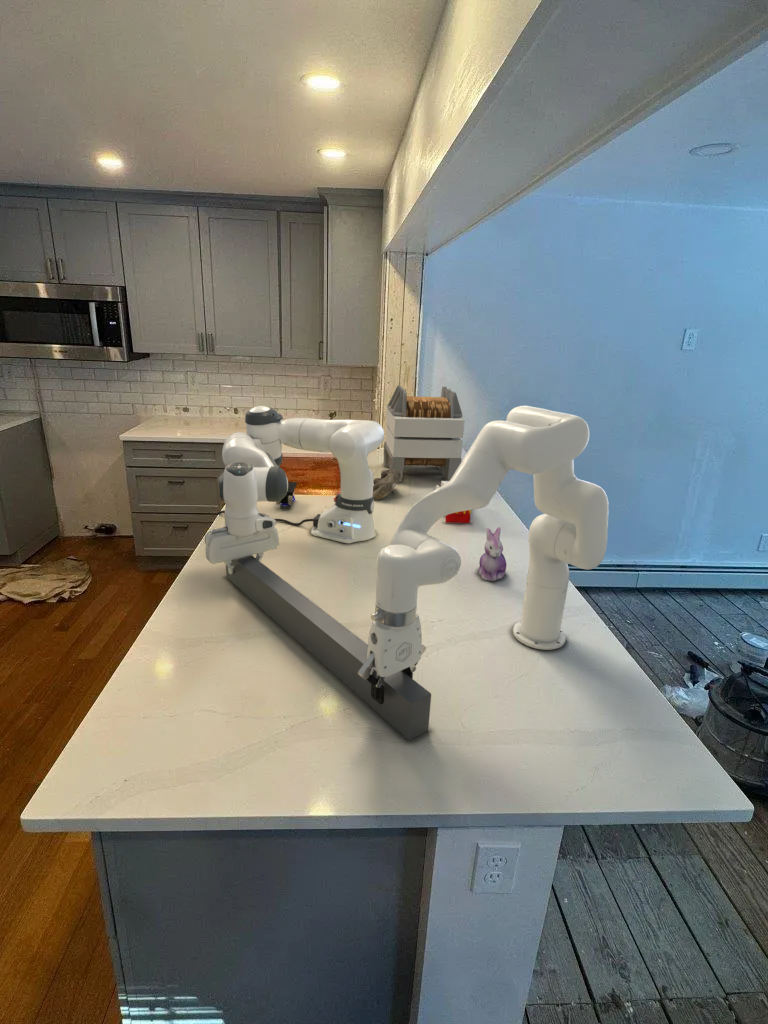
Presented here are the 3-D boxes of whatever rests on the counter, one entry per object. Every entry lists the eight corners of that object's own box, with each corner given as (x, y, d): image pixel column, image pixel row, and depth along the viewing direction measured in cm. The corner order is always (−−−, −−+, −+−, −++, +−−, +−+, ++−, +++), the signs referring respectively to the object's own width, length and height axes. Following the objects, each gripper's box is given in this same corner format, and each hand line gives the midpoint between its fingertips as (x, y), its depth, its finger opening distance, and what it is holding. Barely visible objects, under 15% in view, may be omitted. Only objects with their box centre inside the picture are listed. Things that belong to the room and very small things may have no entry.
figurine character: (293, 513, 218) (297, 497, 231) (292, 495, 215) (297, 480, 228) (275, 513, 218) (281, 496, 231) (274, 495, 214) (280, 479, 228)
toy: (463, 477, 237) (476, 489, 207) (461, 508, 239) (474, 524, 210) (434, 476, 236) (443, 488, 207) (432, 507, 239) (441, 523, 210)
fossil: (369, 475, 252) (396, 457, 247) (382, 491, 255) (409, 474, 250) (363, 495, 232) (392, 476, 227) (377, 513, 235) (406, 494, 230)
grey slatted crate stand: (382, 463, 289) (386, 382, 275) (445, 464, 293) (451, 384, 279) (390, 482, 257) (394, 392, 243) (460, 483, 261) (468, 394, 247)
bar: (226, 577, 163) (224, 550, 160) (242, 573, 166) (240, 546, 163) (408, 741, 104) (411, 703, 101) (428, 730, 107) (431, 693, 104)
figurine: (489, 584, 165) (495, 537, 160) (469, 570, 174) (474, 524, 169) (515, 579, 169) (521, 532, 164) (493, 565, 178) (499, 520, 173)
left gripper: (209, 535, 144) (212, 583, 149) (281, 519, 156) (282, 565, 161) (199, 527, 148) (203, 574, 153) (270, 513, 161) (271, 557, 165)
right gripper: (370, 635, 95) (367, 722, 102) (444, 606, 106) (437, 687, 112) (344, 616, 101) (343, 700, 107) (417, 591, 111) (412, 668, 117)
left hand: (244, 569), depth 157 cm, fingers open, 6 cm apart
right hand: (391, 692), depth 109 cm, fingers open, 6 cm apart
